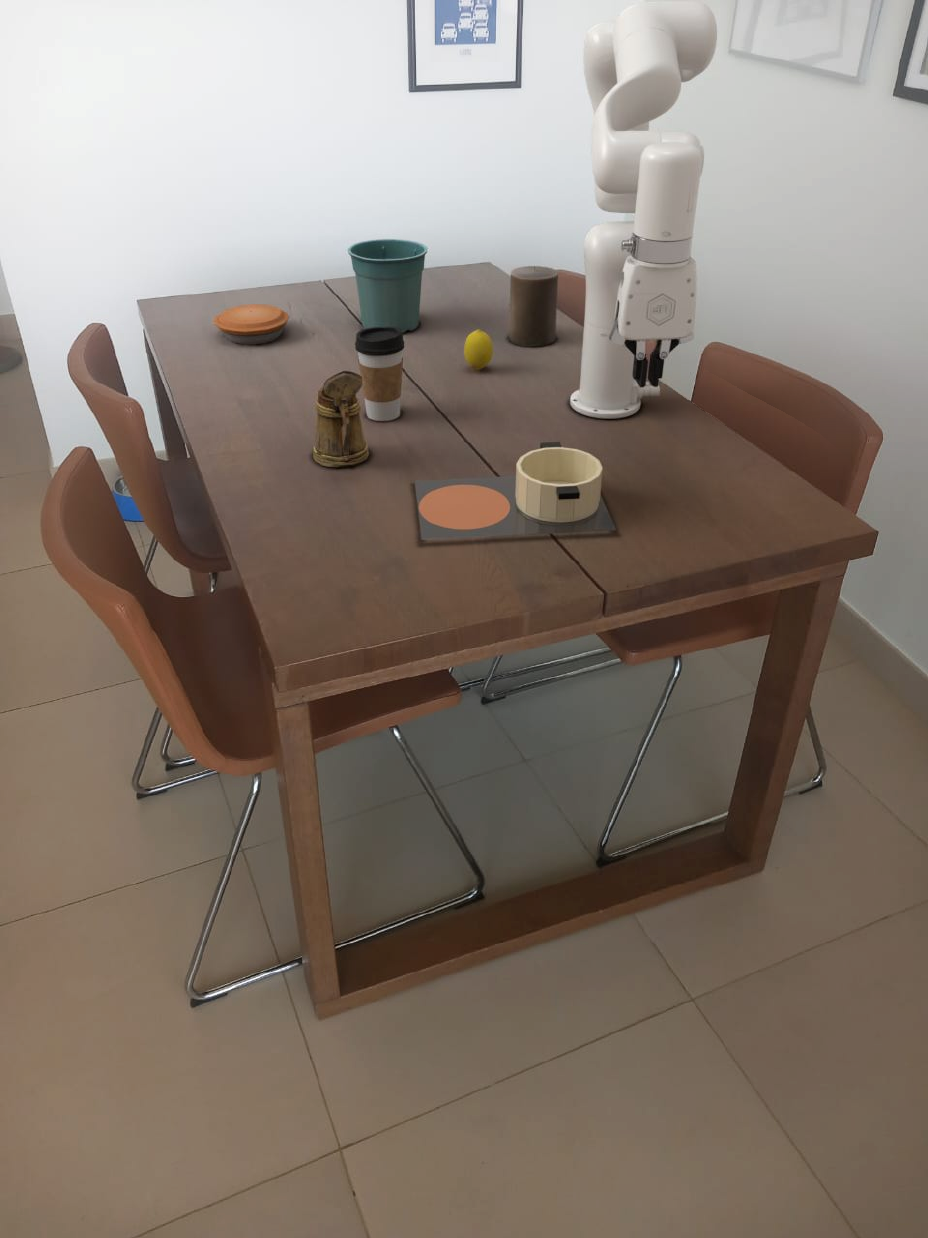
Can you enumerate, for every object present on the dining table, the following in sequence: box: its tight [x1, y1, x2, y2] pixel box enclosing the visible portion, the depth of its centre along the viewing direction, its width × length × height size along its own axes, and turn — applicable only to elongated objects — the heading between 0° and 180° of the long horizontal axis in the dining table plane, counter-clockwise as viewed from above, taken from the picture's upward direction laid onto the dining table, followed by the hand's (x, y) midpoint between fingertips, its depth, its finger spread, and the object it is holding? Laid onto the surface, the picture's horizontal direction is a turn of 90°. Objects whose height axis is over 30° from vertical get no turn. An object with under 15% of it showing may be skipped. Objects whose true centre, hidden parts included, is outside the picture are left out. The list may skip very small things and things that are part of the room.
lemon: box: [463, 329, 494, 371], centre depth 192 cm, size 6×6×8 cm
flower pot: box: [347, 238, 428, 334], centre depth 210 cm, size 16×16×16 cm
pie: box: [213, 303, 290, 345], centre depth 208 cm, size 16×16×5 cm
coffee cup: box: [354, 327, 405, 422], centre depth 173 cm, size 8×8×15 cm
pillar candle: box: [508, 265, 559, 347], centre depth 203 cm, size 10×10×15 cm
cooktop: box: [414, 475, 617, 541], centre depth 149 cm, size 28×18×1 cm, turn 95°
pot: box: [515, 441, 604, 523], centre depth 148 cm, size 12×16×6 cm
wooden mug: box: [312, 370, 370, 469], centre depth 157 cm, size 9×14×18 cm, turn 17°
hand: (646, 382), depth 140 cm, fingers closed
